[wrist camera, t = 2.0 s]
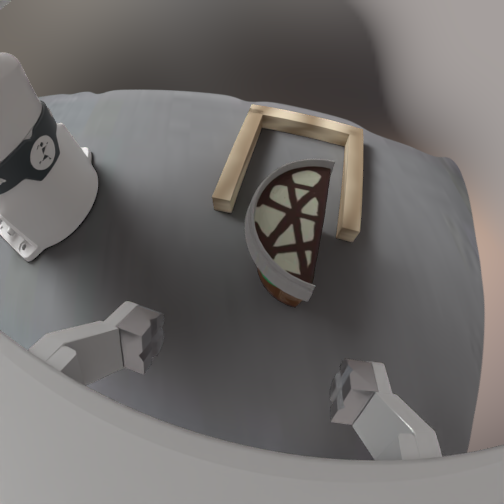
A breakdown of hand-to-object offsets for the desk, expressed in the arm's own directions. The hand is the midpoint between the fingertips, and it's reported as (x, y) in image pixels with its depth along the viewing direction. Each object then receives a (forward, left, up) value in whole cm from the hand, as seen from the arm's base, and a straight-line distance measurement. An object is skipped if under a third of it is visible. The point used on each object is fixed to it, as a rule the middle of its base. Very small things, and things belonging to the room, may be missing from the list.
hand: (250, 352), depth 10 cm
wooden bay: (0, +23, -17) cm, 29 cm away
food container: (0, +11, -18) cm, 21 cm away
